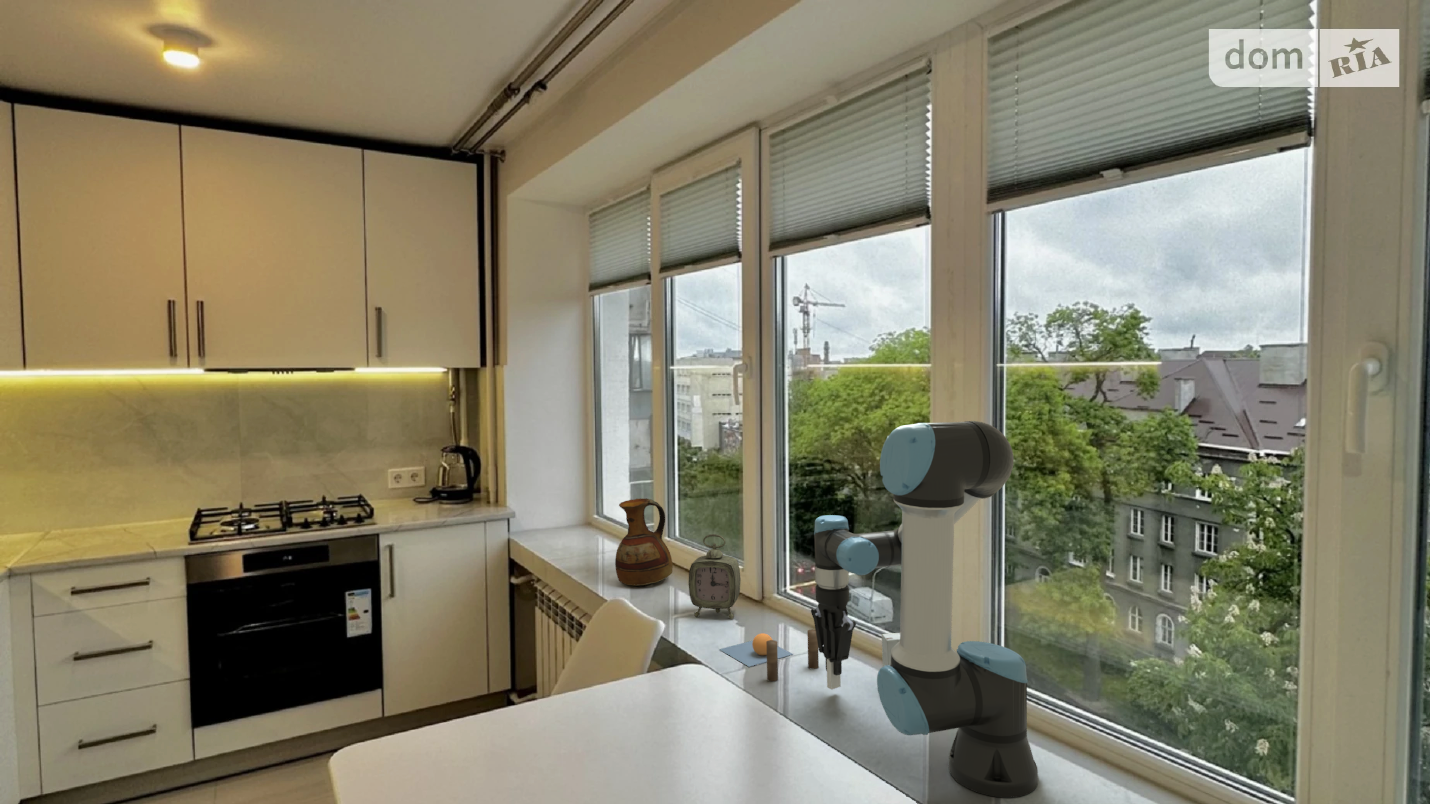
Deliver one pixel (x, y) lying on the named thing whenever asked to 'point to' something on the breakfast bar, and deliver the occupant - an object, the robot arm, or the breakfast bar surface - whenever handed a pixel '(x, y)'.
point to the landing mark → (750, 654)
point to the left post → (772, 660)
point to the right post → (812, 650)
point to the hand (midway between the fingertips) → (833, 686)
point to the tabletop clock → (714, 580)
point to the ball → (761, 643)
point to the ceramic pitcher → (642, 547)
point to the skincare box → (888, 646)
